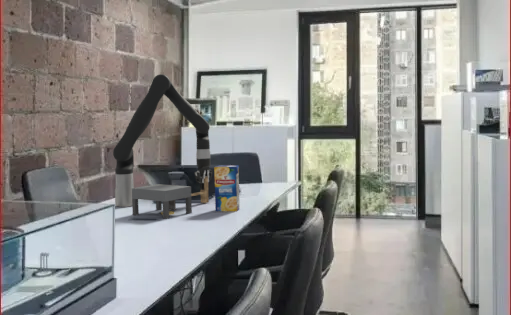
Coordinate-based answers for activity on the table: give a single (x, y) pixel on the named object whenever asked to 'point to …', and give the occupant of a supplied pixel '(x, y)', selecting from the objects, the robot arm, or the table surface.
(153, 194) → the charcoal table
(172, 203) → the oak rake
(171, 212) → the brass token
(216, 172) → the blue yellow food box
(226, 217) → the table surface
